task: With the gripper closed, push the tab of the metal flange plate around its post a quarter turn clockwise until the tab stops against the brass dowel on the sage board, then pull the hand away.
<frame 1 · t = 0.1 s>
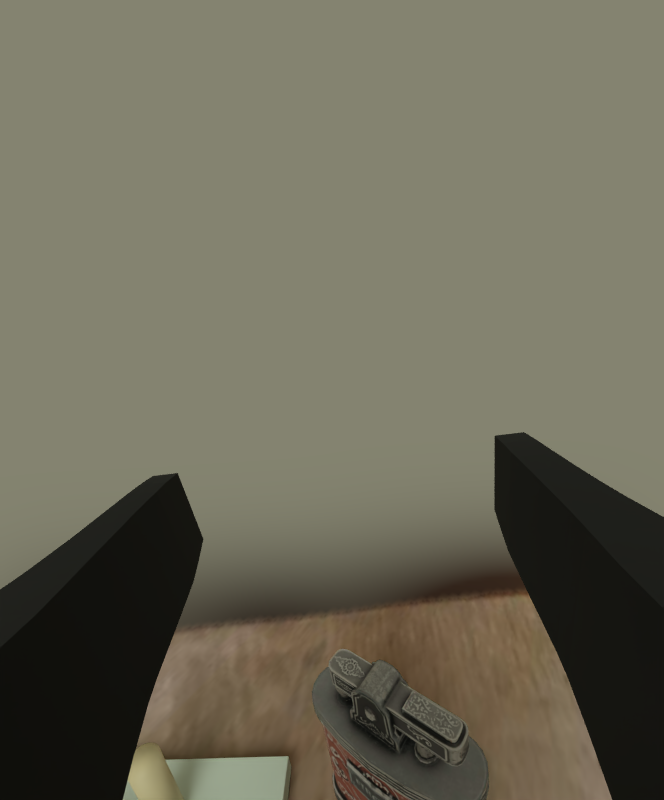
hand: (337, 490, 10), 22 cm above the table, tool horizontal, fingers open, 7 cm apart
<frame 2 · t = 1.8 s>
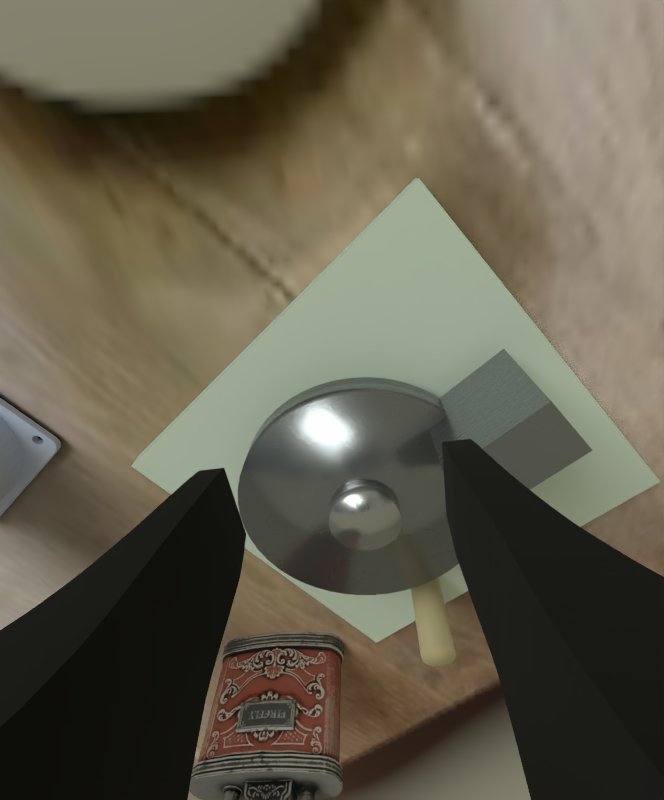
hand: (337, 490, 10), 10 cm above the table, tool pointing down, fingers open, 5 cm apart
board: (390, 461, 22), on the table
lighter: (283, 646, 29), on the table
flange: (392, 500, 18), point 4 cm above the table, hinge at 0.0°
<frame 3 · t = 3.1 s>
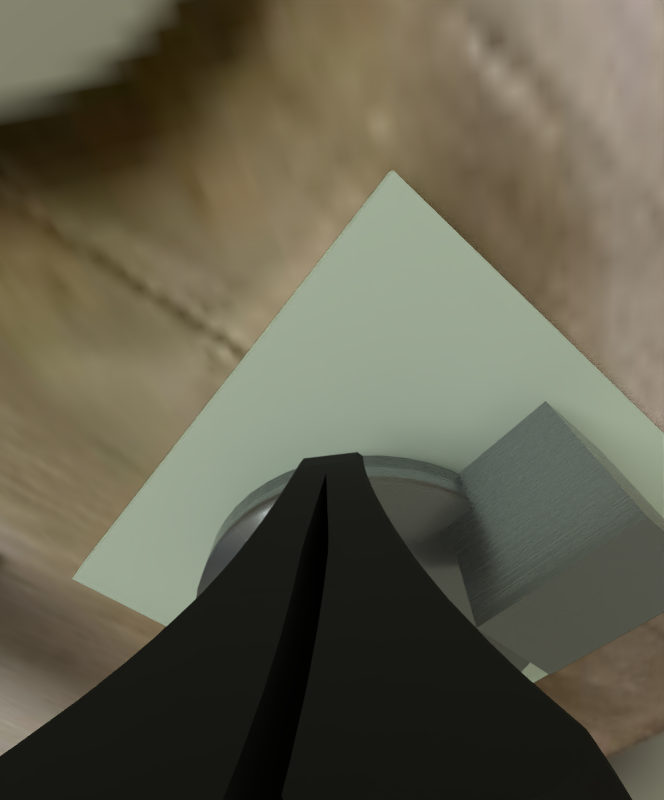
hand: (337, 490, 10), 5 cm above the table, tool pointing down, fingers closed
board: (402, 543, 17), on the table
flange: (405, 626, 13), point 4 cm above the table, hinge at 0.0°
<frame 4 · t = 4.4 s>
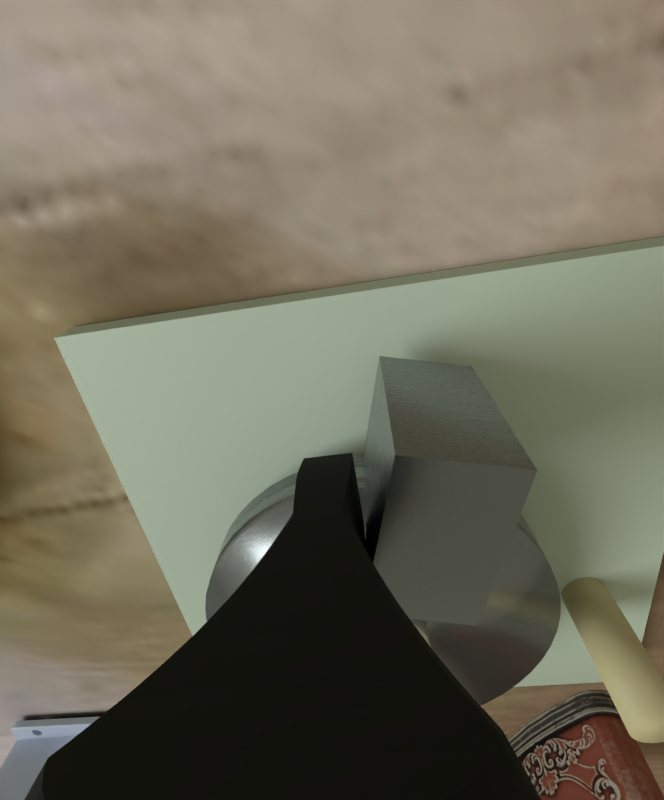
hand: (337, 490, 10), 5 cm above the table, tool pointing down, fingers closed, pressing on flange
board: (397, 522, 16), on the table
lighter: (552, 728, 23), on the table
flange: (388, 617, 13), point 4 cm above the table, hinge at -15.1°, touching gripper
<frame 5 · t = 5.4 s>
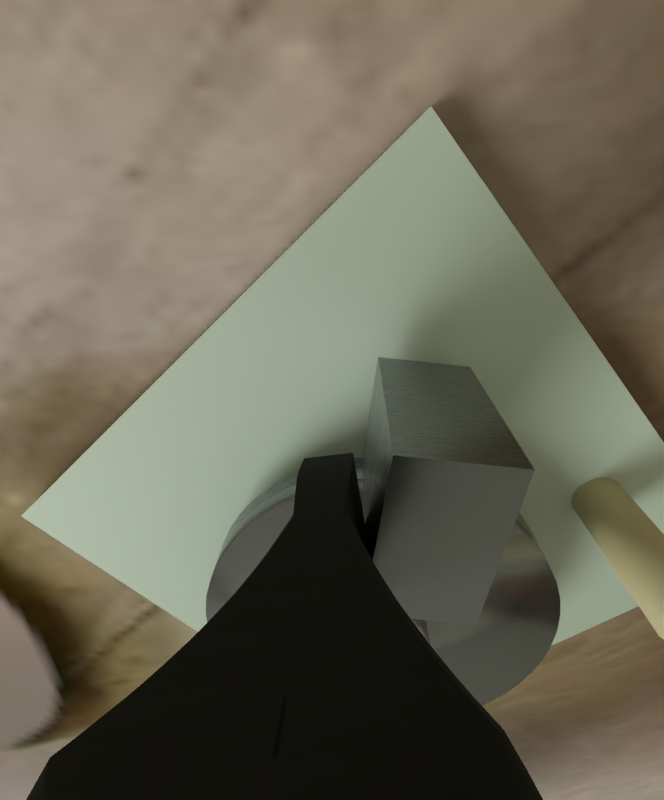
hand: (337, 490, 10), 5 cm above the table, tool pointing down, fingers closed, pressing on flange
board: (377, 517, 16), on the table
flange: (388, 618, 13), point 4 cm above the table, hinge at -48.3°, touching gripper
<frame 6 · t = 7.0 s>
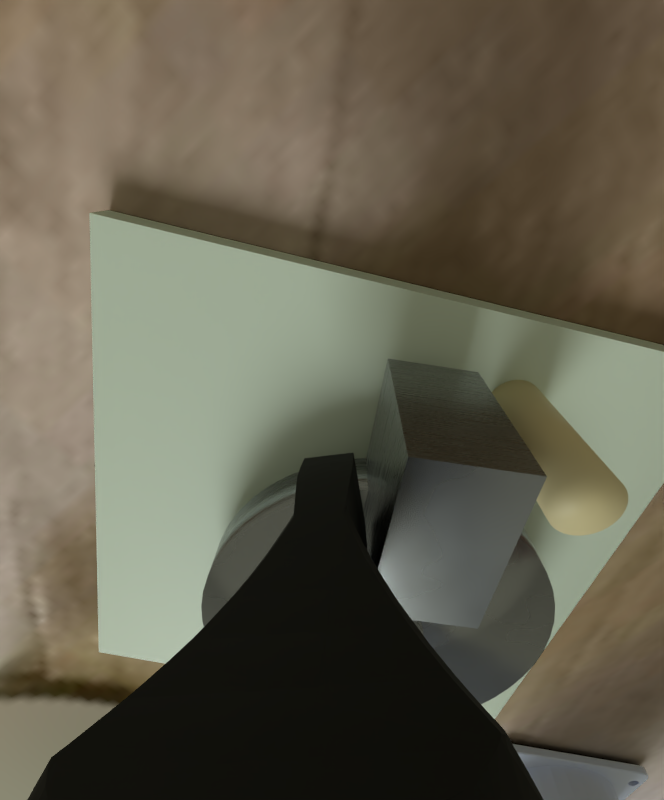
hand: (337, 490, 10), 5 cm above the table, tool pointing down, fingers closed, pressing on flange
board: (351, 522, 17), on the table
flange: (385, 619, 13), point 4 cm above the table, hinge at -85.4°, touching gripper
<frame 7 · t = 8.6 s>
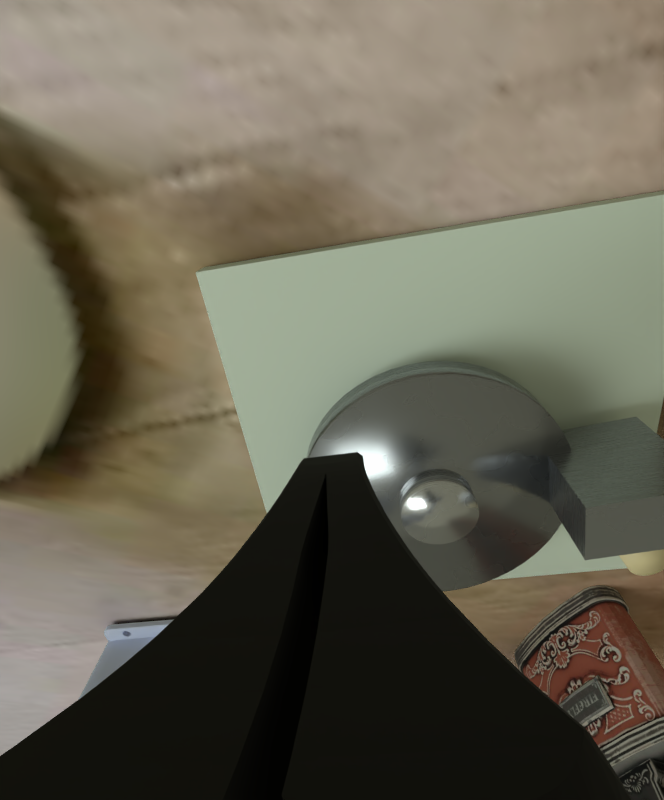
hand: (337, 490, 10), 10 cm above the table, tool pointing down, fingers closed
board: (442, 431, 21), on the table
lighter: (563, 625, 27), on the table
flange: (477, 505, 17), point 4 cm above the table, hinge at -85.5°
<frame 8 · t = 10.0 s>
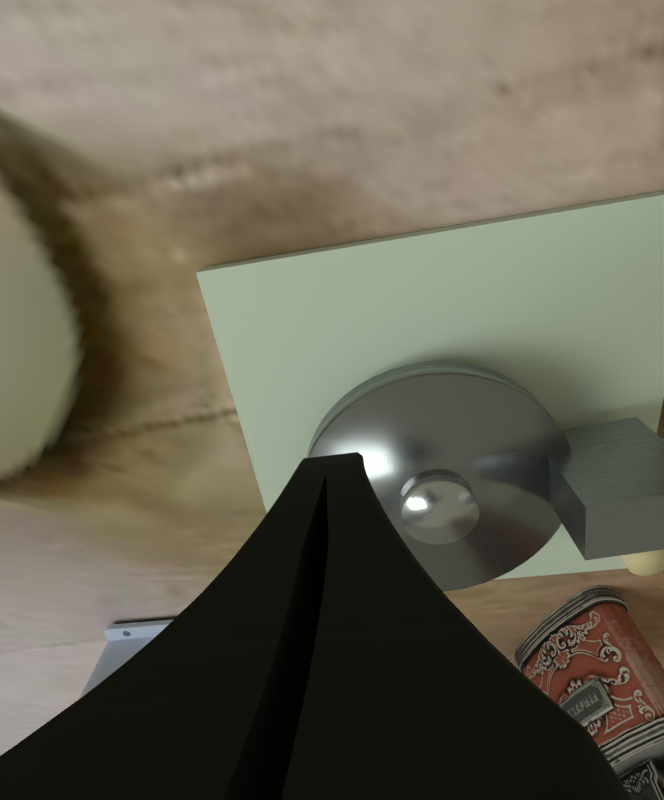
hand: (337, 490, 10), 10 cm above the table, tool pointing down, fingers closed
board: (442, 431, 21), on the table
lighter: (563, 625, 27), on the table
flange: (477, 505, 17), point 4 cm above the table, hinge at -85.5°
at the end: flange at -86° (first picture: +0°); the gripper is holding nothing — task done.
